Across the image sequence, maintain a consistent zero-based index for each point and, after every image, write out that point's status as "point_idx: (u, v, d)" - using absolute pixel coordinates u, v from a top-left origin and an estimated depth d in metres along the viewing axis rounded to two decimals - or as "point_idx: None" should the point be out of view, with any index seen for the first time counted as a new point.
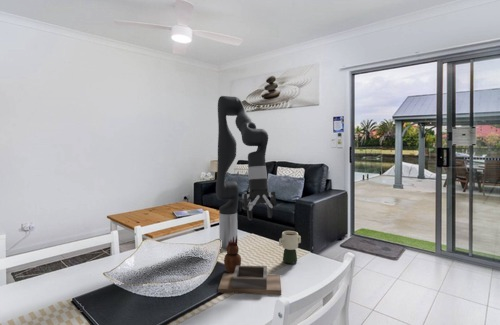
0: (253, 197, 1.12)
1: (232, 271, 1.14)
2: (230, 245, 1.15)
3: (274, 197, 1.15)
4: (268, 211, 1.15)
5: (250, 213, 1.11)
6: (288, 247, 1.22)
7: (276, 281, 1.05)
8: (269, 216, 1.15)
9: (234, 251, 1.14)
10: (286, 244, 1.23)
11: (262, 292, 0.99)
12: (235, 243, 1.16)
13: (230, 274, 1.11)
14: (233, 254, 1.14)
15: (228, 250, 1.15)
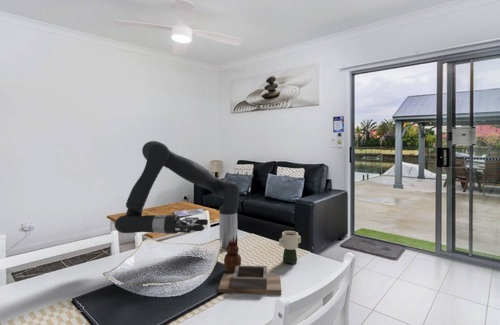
0: None
1: (232, 271, 1.14)
2: (230, 245, 1.15)
3: None
4: None
5: None
6: (288, 247, 1.22)
7: (276, 281, 1.05)
8: None
9: (234, 251, 1.14)
10: (286, 244, 1.23)
11: (262, 292, 0.99)
12: (235, 243, 1.16)
13: (230, 274, 1.11)
14: (233, 254, 1.14)
15: (228, 250, 1.15)
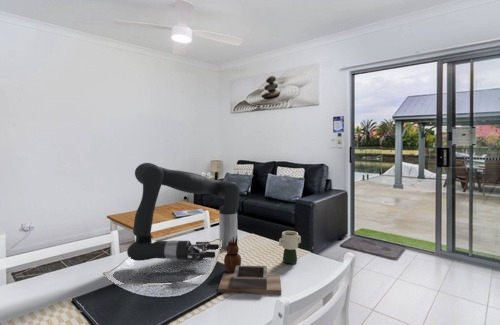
0: None
1: (232, 271, 1.14)
2: (230, 245, 1.15)
3: None
4: None
5: None
6: (288, 247, 1.22)
7: (276, 281, 1.05)
8: None
9: (234, 251, 1.14)
10: (286, 244, 1.23)
11: (262, 292, 0.99)
12: (235, 243, 1.16)
13: (230, 274, 1.11)
14: (233, 254, 1.14)
15: (228, 250, 1.15)
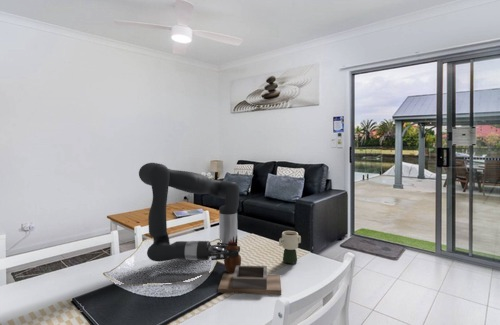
0: None
1: (232, 271, 1.14)
2: (230, 245, 1.15)
3: None
4: None
5: None
6: (288, 247, 1.22)
7: (276, 281, 1.05)
8: None
9: None
10: (286, 245, 1.23)
11: (262, 292, 0.99)
12: (235, 243, 1.16)
13: (230, 274, 1.11)
14: None
15: (228, 250, 1.15)
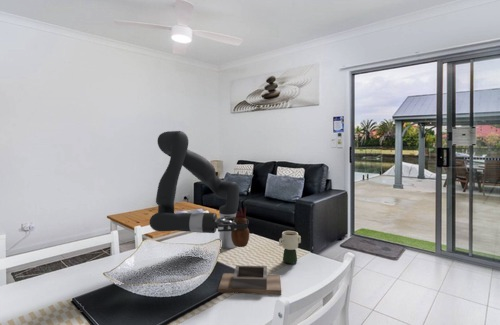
0: None
1: (240, 245, 1.06)
2: (238, 217, 1.07)
3: None
4: None
5: None
6: (288, 247, 1.22)
7: (276, 281, 1.05)
8: None
9: None
10: (286, 245, 1.23)
11: (262, 292, 0.99)
12: (243, 215, 1.08)
13: (230, 274, 1.11)
14: None
15: (236, 222, 1.07)
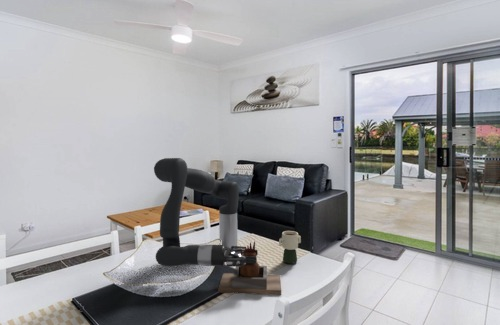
0: None
1: None
2: (247, 252, 1.04)
3: None
4: None
5: None
6: (288, 247, 1.22)
7: (276, 281, 1.05)
8: None
9: None
10: (286, 244, 1.23)
11: (262, 292, 0.99)
12: (253, 250, 1.04)
13: (230, 274, 1.11)
14: None
15: None
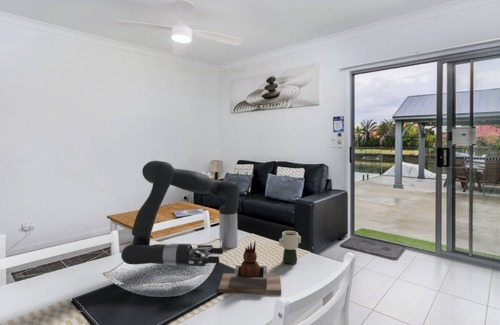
0: None
1: None
2: (247, 252, 1.04)
3: None
4: None
5: None
6: (288, 247, 1.22)
7: (276, 281, 1.05)
8: None
9: (252, 258, 1.02)
10: (287, 244, 1.23)
11: (262, 292, 0.99)
12: (253, 250, 1.04)
13: (230, 274, 1.11)
14: (251, 262, 1.03)
15: (245, 257, 1.03)
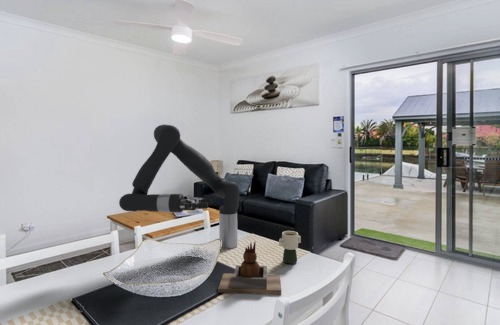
0: None
1: None
2: (247, 252, 1.04)
3: None
4: None
5: None
6: (288, 247, 1.22)
7: (276, 281, 1.05)
8: None
9: (252, 258, 1.02)
10: (286, 245, 1.23)
11: (262, 292, 0.99)
12: (253, 250, 1.04)
13: (230, 274, 1.11)
14: (251, 262, 1.03)
15: (245, 257, 1.03)
